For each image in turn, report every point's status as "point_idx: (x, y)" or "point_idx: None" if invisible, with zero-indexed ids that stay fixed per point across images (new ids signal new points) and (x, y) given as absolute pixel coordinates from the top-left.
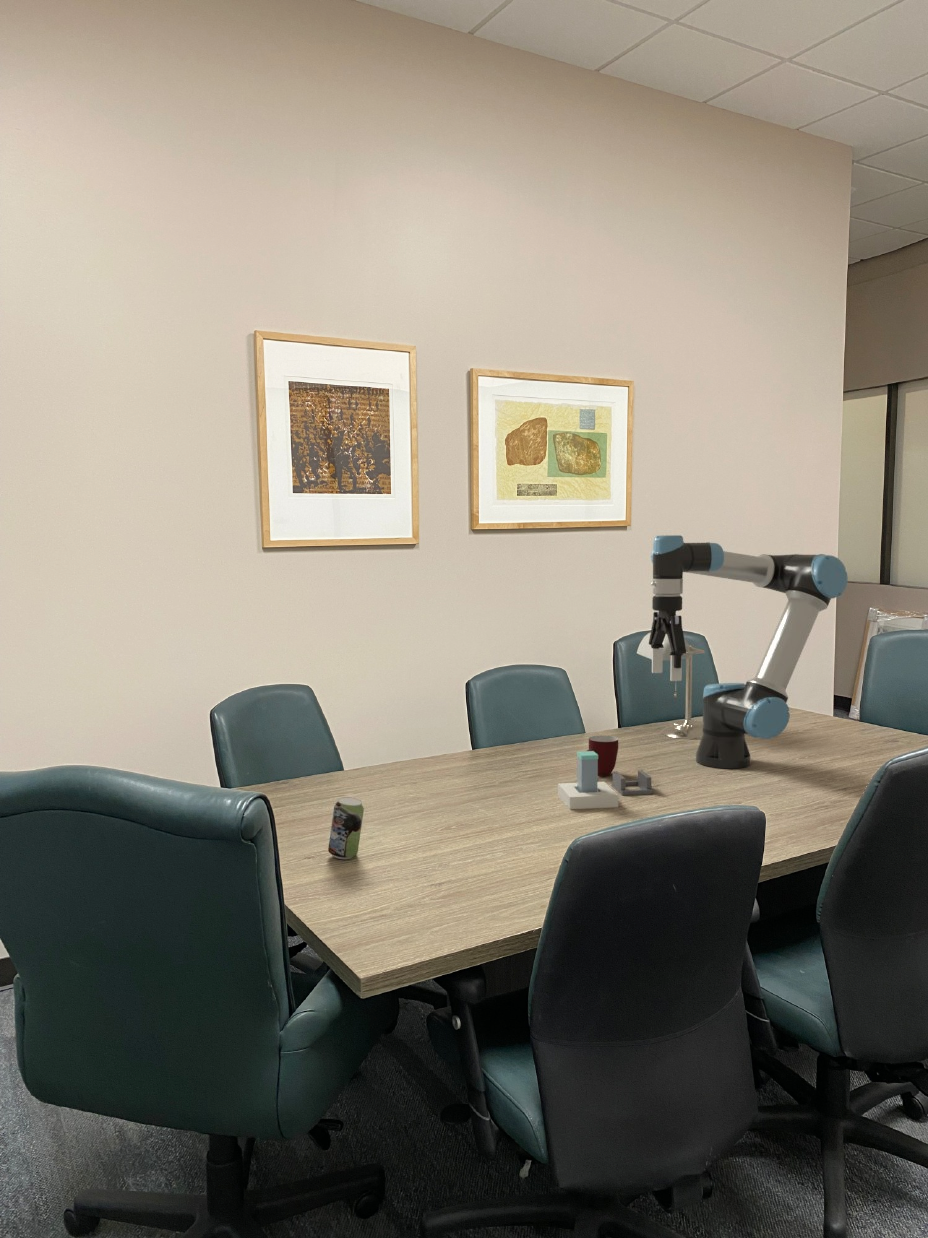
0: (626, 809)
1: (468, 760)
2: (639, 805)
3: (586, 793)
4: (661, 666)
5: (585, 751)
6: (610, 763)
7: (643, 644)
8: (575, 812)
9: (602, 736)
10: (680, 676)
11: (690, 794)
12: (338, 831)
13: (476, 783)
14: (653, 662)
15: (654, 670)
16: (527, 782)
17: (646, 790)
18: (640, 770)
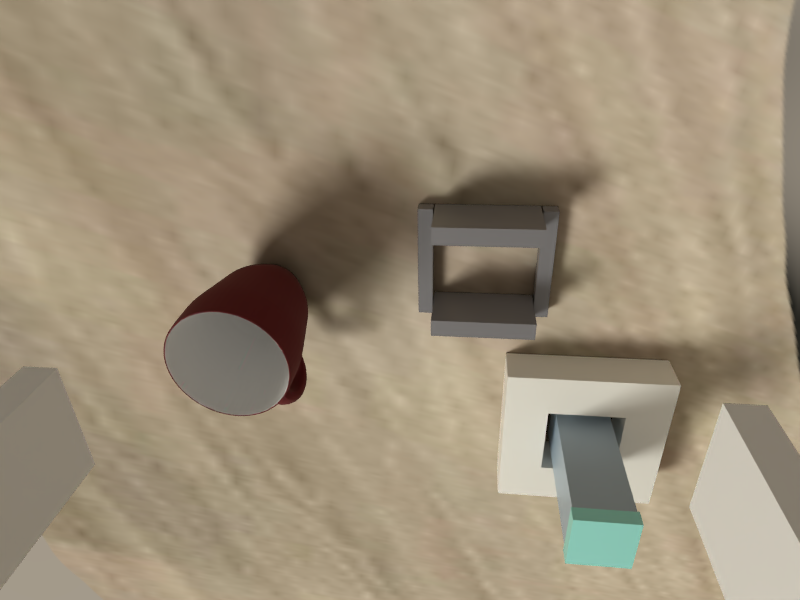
0: (699, 345)
1: (129, 556)
2: (673, 294)
3: (628, 458)
4: (3, 439)
5: (571, 542)
6: (302, 303)
7: None
8: (669, 469)
9: (167, 350)
10: (792, 465)
11: (604, 53)
12: None
13: (352, 584)
14: (5, 574)
15: (67, 471)
16: (354, 495)
17: (556, 235)
18: (432, 235)
